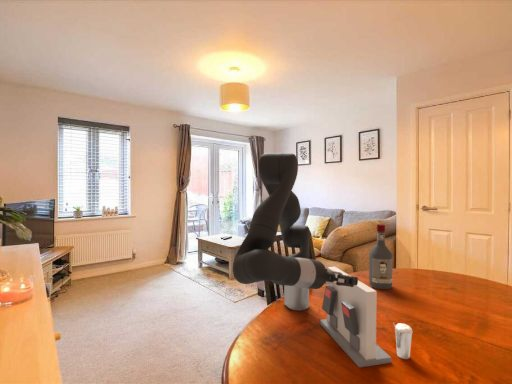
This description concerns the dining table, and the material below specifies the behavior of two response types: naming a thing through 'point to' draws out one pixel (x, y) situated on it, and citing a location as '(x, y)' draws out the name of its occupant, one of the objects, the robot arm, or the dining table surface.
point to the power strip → (364, 343)
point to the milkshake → (403, 340)
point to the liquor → (380, 262)
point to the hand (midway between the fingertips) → (344, 278)
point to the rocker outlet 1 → (329, 300)
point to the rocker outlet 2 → (350, 318)
